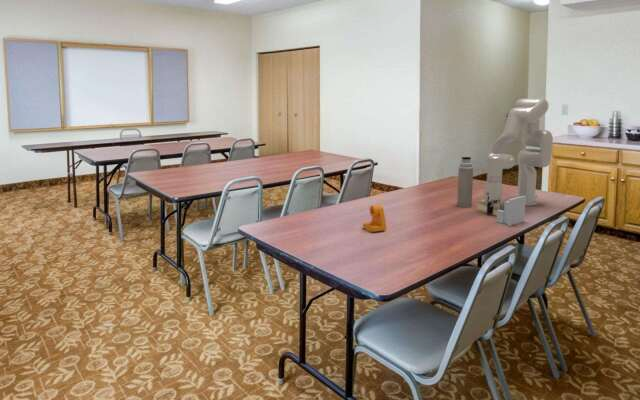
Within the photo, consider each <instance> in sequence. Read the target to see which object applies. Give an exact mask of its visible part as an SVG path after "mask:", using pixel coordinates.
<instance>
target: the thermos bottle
mask: <svg viewBox="0 0 640 400" xmlns="http://www.w3.org/2000/svg"><path fill="white" fill-rule="evenodd" d="M457 175H458V176H457V177H458V180H457V199H456V200H457V201H456V205H457V207H460V208H471V207H472V205H473V204H472V203H473V183H474V182H473V181H474V167H473V162H472V157H470V156H462V157H461V162H459V166H458V174H457Z"/></svg>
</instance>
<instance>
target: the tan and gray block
mask: <svg viewBox="0 0 640 400" xmlns="http://www.w3.org/2000/svg"><path fill="white" fill-rule="evenodd" d="M484 201H485V200H484V199H479V200H477V210H476V211H477V212H478V213H483V214H488V215H490V214H489V213H487V204H486V203H485V202H484ZM490 203H491V202H490ZM504 205H505V202H504V203H503V202H499V203H498V202H493V205H492V207H493V214H491V216H497V210H502V211H504Z"/></svg>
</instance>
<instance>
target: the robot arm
mask: <svg viewBox="0 0 640 400" xmlns="http://www.w3.org/2000/svg"><path fill="white" fill-rule="evenodd" d="M514 106H515V107H514V108H511V109H510V110H509V112H508V115H507V119H506V123H505V125H504V129H503V132H502V134H501V135H500V136H499V137H498V138H496V140H495V141H493V143H492V144H491V145H490V148H489V151H488V153H487V159H486V162H487V167H486V182H485V186H484V191H483V193H484V194H483V200H485V201H484V202H485V203H486V204H487V213H489V214H488V215H492V214H493V207H492V205H493V202H498V203H501V200H502V196H503V195H502V194H503V185H502V184H503V183H502V182H503V170H505V169H506V170H509V169H512V168H513V167H514V166H515V164H516V158H515V156H513V155H511V154H507V153H506V154H505V153H499V151H500V150H501V148H502V147H503V146H504V145H507V144H510V143H511V142H515V141H516V140H518V139H519V138H520V135H521V133H522V135H521V136H522V137H521V142H522V144H523V145H524V146H525V147H531V148H523V149H521V150H520V151H519V152H518V153H517V163H518V176H517V177H518V179H517V192H516V193H517V194H516V198H517V197H521V196H526V203H525V207H529V206H530V207H532V206H537V205H538V201H536V199H538V198H539V196H538V195H536V189H537V188H536V187H537V176H538V175H537V171H536V168H535V167H539V168H547V167H549V166H550V164H551V162H552V153H553V142H554V141H553V140H554V138H553V134H552V132H551V131H550V130H547V129H540V119H541V118H542V117H543V116H544V115H545V114H546V113H547V112H548V109H549V102H548V100H547V99H545V98H520V99H518V100H516V102H515V105H514ZM537 148H539V149H537ZM490 202H491V203H490ZM487 213H486V214H487Z"/></svg>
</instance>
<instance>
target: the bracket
mask: <svg viewBox="0 0 640 400" xmlns="http://www.w3.org/2000/svg"><path fill="white" fill-rule="evenodd" d="M369 214H370V216H371V221H364V222H362V227H363V228H364V230H366V231H367V232H368V233H375V232H382V231H387V222H386V217H385V211H384V207H383V205H382V204H376V205H374V204H373V205H371V206H370V207H369Z"/></svg>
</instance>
